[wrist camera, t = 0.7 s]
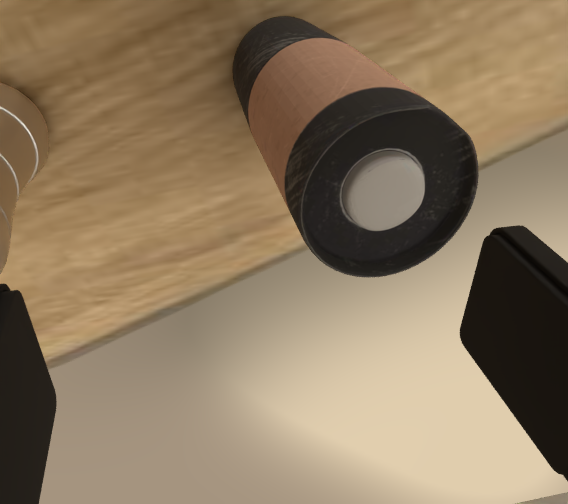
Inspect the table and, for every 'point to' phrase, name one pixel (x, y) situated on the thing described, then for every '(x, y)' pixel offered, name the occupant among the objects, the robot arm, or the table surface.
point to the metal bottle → (18, 155)
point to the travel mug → (353, 149)
